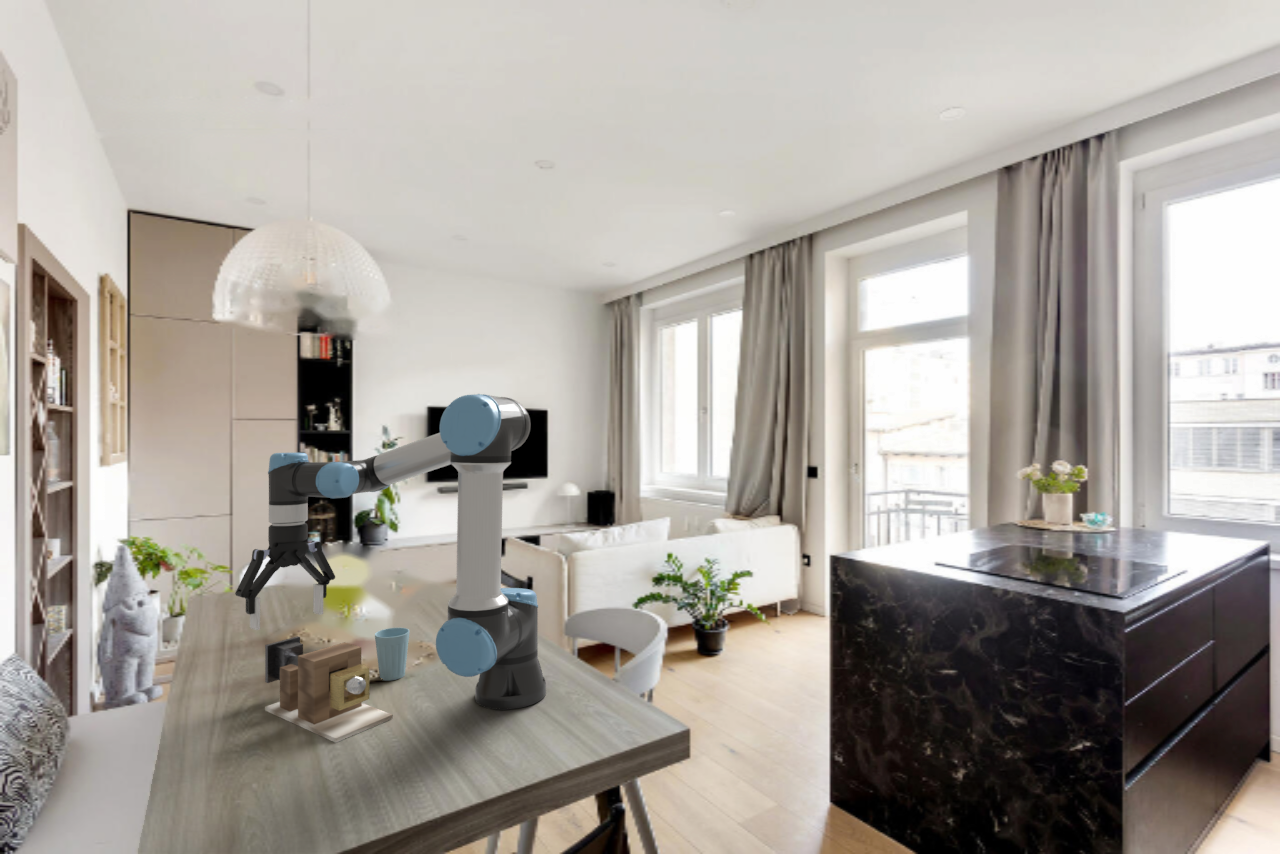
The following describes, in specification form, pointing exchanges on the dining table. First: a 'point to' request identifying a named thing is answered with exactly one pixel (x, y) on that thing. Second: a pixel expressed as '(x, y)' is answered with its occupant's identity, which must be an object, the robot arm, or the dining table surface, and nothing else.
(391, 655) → the cup
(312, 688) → the wooden assembly fixture
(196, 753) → the dining table surface
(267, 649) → the shaft
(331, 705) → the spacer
